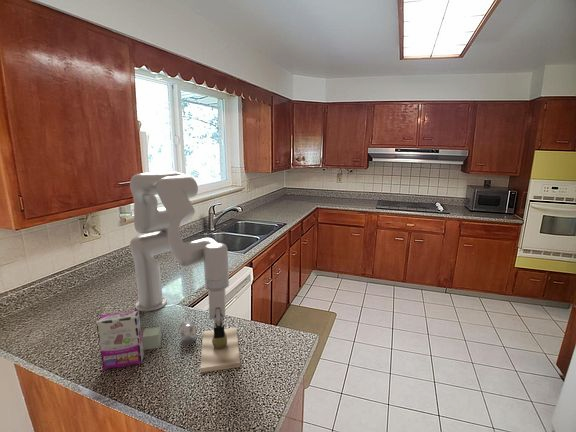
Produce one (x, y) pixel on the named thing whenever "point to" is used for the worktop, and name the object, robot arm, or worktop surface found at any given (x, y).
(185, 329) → the glass globe
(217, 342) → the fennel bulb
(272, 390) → the worktop surface
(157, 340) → the sage cube
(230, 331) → the birch board
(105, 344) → the candy bar box
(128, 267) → the worktop surface
